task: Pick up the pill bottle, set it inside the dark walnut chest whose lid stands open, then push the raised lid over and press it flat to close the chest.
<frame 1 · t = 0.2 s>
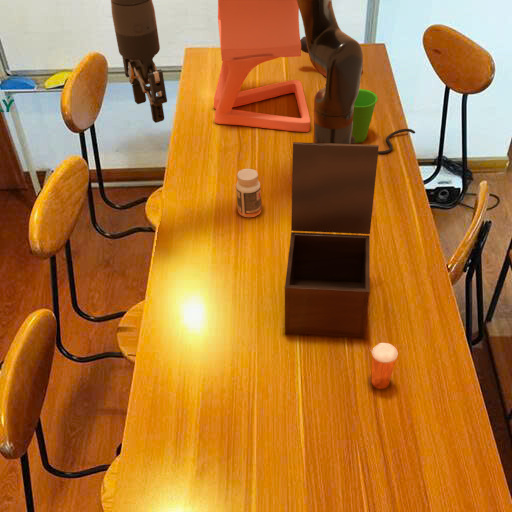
hand: (149, 111, 136), 29 cm above the table, tool pointing down, fingers open, 8 cm apart
milkshake: (377, 383, 129), on the table
lid: (332, 189, 131), point 21 cm above the table, hinge at 100.0°
pill bottle: (249, 211, 163), on the table
teapot: (329, 71, 206), on the table
chest: (325, 307, 141), on the table
cup: (356, 138, 182), on the table
chair: (260, 113, 191), on the table
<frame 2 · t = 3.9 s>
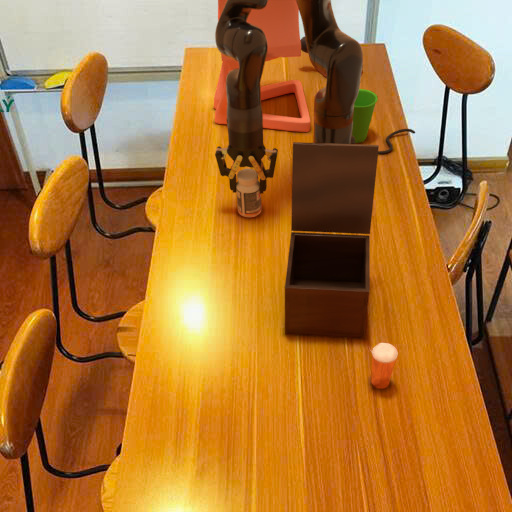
hand: (248, 190, 158), 6 cm above the table, tool pointing down, fingers closed on pill bottle, 5 cm apart
pill bottle: (249, 211, 163), on the table, touching gripper
everything else where it was.
when the fingers open (6 cm above the table, at t = 17.7 s): pill bottle stays where it is, resting on chest.
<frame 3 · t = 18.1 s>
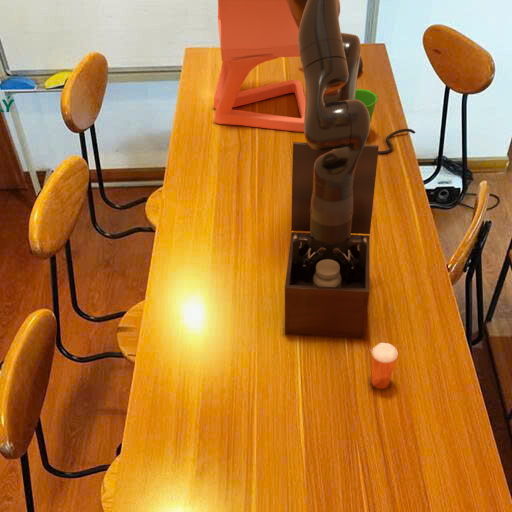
hand: (327, 280, 136), 7 cm above the table, tool pointing down, fingers open, 8 cm apart
pill bottle: (325, 305, 141), point 1 cm above the table, touching chest
everything else where it was.
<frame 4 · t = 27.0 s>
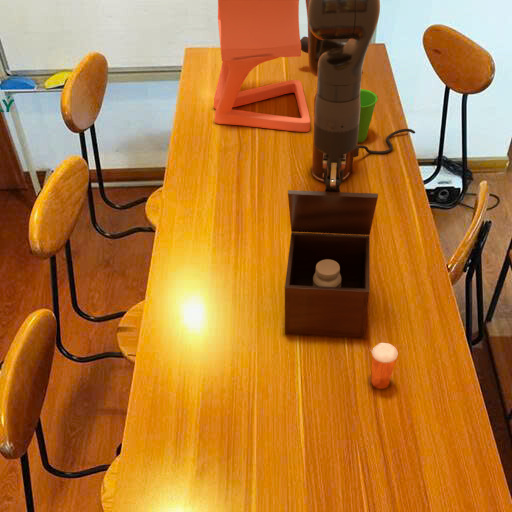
hand: (331, 206, 128), 21 cm above the table, tool pointing down, fingers closed
lid: (331, 214, 128), point 20 cm above the table, hinge at 58.6°, touching gripper
everything else where it was.
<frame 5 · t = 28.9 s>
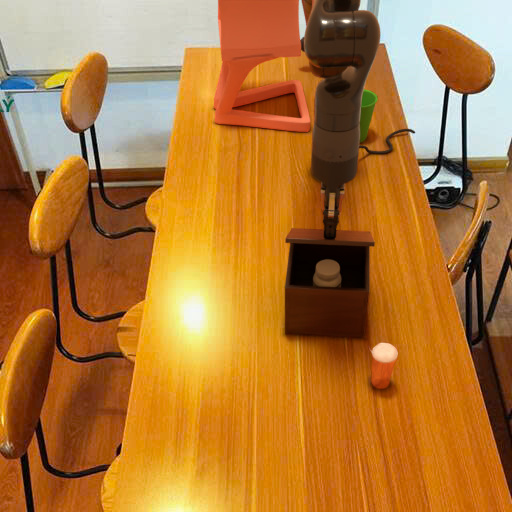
hand: (329, 236, 123), 21 cm above the table, tool pointing down, fingers closed
lid: (330, 236, 129), point 17 cm above the table, hinge at 31.0°, touching gripper
everything else where it was.
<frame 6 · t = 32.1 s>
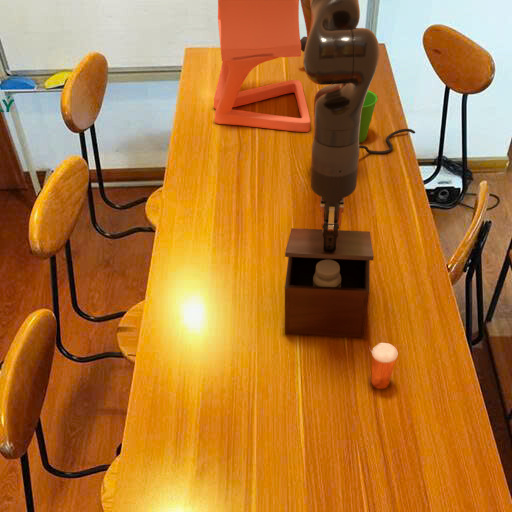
hand: (329, 248, 123), 19 cm above the table, tool pointing down, fingers closed
lid: (329, 243, 129), point 16 cm above the table, hinge at 22.8°
everything else where it was.
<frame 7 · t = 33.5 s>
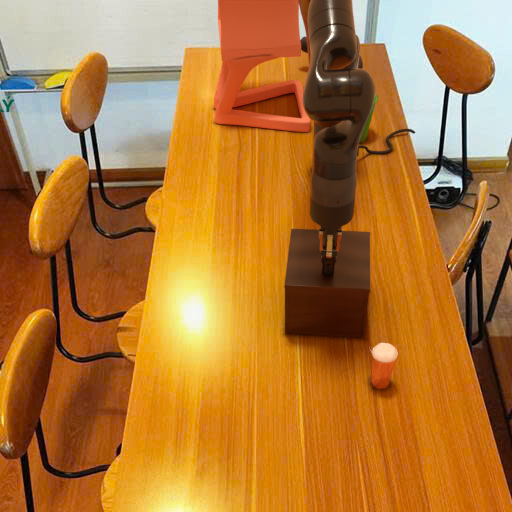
hand: (327, 272, 128), 14 cm above the table, tool pointing down, fingers closed
lid: (328, 259, 131), point 13 cm above the table, hinge at 1.6°, touching gripper
everything else where it was.
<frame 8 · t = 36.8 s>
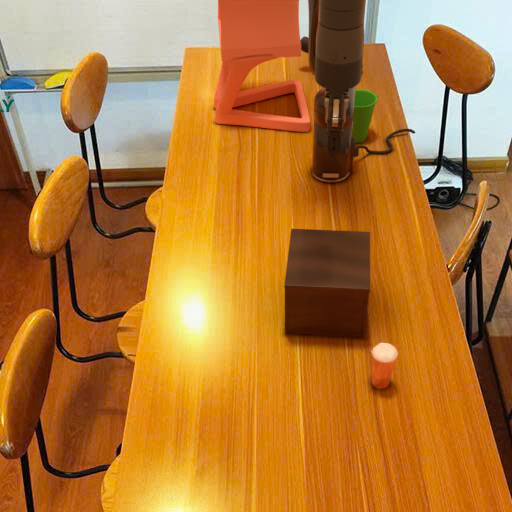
hand: (333, 151, 122), 31 cm above the table, tool pointing down, fingers closed
lid: (328, 259, 131), point 13 cm above the table, hinge at 1.5°
everything else where it was.
at the end: pill bottle inside the target area in the chest (0.1 cm from its centre), point 0.6 cm above the chest's base; lid at +2° (first picture: +100°) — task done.
